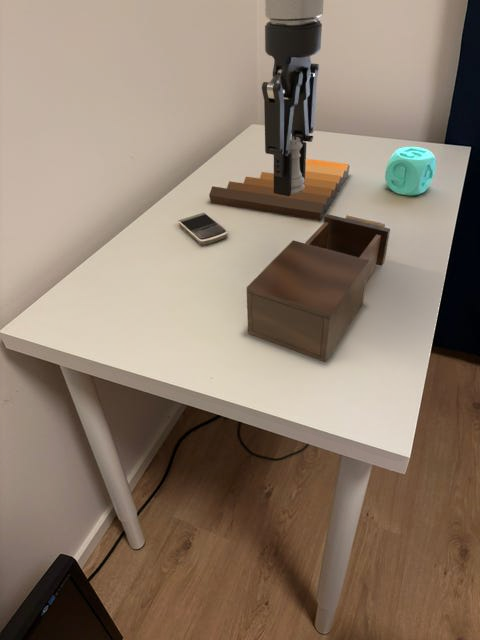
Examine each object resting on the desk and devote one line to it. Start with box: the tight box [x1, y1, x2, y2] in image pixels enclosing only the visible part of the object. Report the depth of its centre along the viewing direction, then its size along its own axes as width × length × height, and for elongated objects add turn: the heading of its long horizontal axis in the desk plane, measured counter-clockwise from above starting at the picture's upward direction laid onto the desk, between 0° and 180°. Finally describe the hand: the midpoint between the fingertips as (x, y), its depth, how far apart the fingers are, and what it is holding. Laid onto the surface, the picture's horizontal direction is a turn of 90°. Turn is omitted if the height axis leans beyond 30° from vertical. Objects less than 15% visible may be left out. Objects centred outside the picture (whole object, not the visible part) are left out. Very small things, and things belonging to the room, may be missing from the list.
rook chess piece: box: [289, 136, 305, 194], centre depth 76 cm, size 4×4×8 cm
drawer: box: [304, 213, 391, 282], centre depth 82 cm, size 18×11×7 cm, turn 149°
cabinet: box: [246, 239, 369, 363], centre depth 73 cm, size 15×13×9 cm
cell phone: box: [177, 212, 229, 246], centre depth 97 cm, size 6×11×1 cm, turn 31°
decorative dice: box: [384, 146, 437, 196], centre depth 107 cm, size 8×8×8 cm
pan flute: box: [208, 158, 351, 222], centre depth 110 cm, size 25×3×25 cm
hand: (289, 187), depth 78 cm, fingers closed on rook chess piece, 4 cm apart
